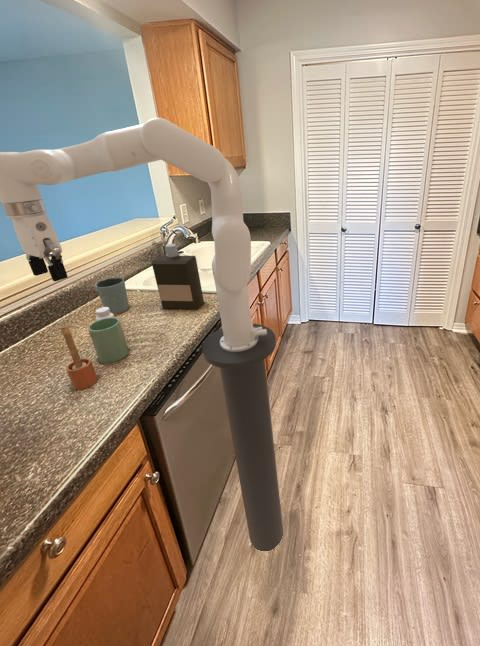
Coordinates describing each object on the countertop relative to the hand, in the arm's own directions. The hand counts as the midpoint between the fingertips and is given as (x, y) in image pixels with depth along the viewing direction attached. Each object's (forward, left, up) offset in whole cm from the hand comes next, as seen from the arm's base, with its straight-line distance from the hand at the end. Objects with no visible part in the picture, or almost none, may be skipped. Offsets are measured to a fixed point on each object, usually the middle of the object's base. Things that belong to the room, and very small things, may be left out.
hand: (50, 276), depth 83 cm
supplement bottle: (-2, -19, -29) cm, 34 cm away
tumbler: (-7, -5, -29) cm, 30 cm away
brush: (-3, +7, -28) cm, 29 cm away
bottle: (-24, -35, -29) cm, 51 cm away
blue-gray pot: (+1, -40, -29) cm, 49 cm away
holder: (-3, +7, -29) cm, 30 cm away
